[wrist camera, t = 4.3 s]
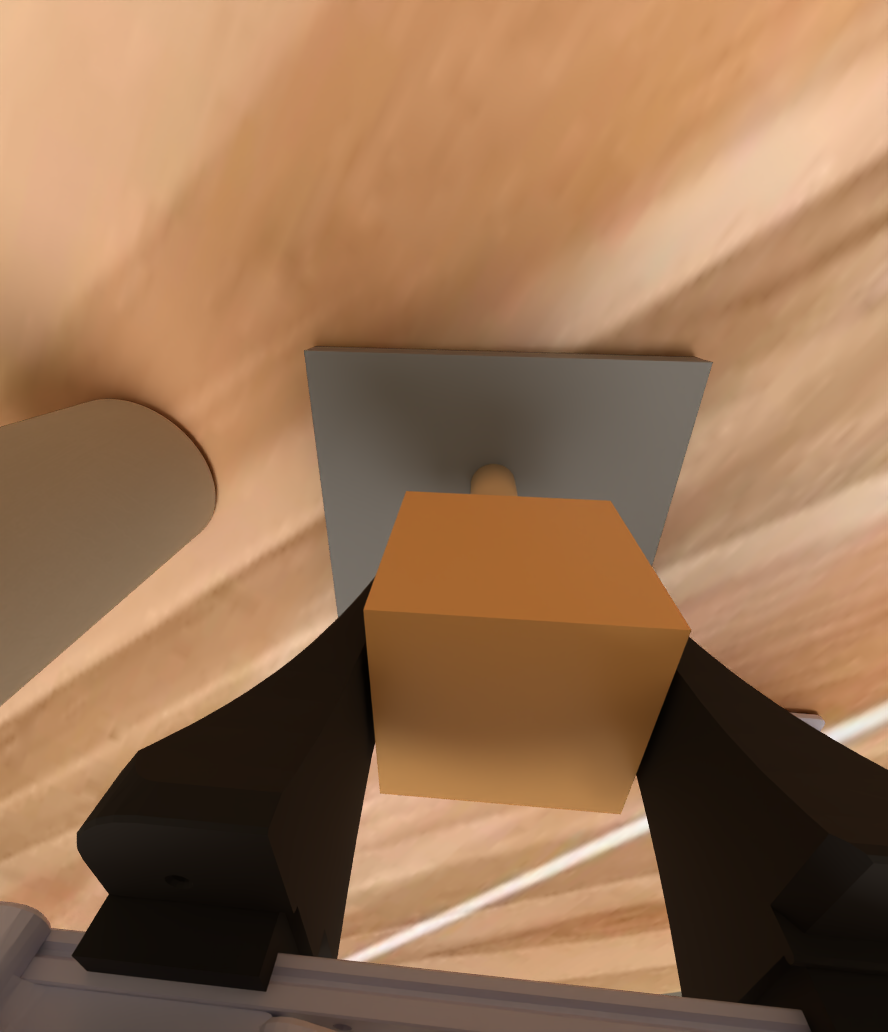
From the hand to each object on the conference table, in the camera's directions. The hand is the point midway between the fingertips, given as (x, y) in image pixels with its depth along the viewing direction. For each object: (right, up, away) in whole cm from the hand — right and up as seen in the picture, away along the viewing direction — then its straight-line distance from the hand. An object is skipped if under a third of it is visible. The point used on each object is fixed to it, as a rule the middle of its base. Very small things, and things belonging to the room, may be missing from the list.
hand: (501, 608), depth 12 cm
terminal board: (+1, +1, +11) cm, 11 cm away
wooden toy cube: (0, +1, +1) cm, 1 cm away
